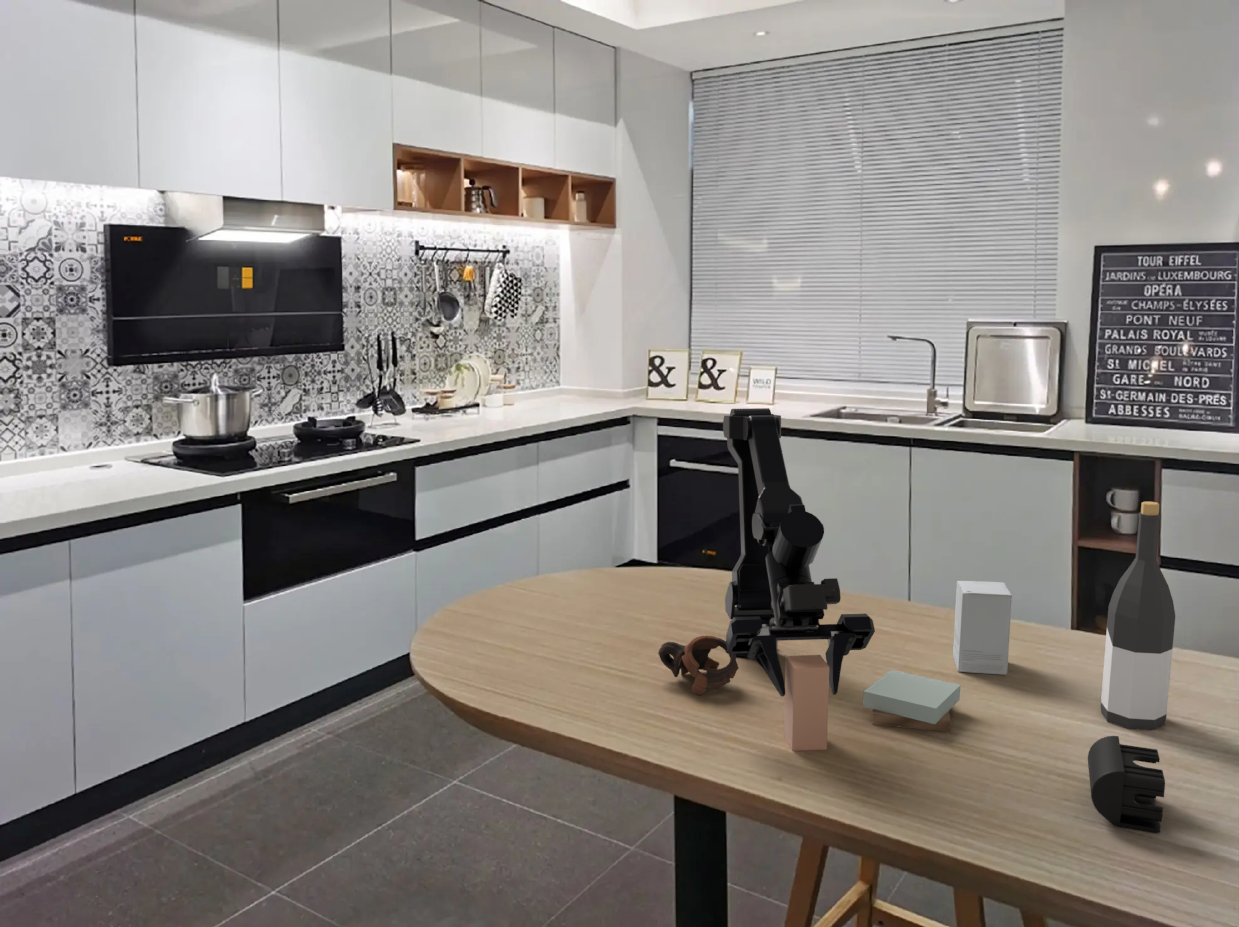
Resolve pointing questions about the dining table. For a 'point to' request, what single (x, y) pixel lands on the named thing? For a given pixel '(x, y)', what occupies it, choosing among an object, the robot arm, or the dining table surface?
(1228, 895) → the dining table surface
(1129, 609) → the wine bottle
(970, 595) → the supplement box
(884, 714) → the slab lower
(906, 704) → the slab upper
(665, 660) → the brown curved piece
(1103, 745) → the end cap
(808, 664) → the terracotta block
